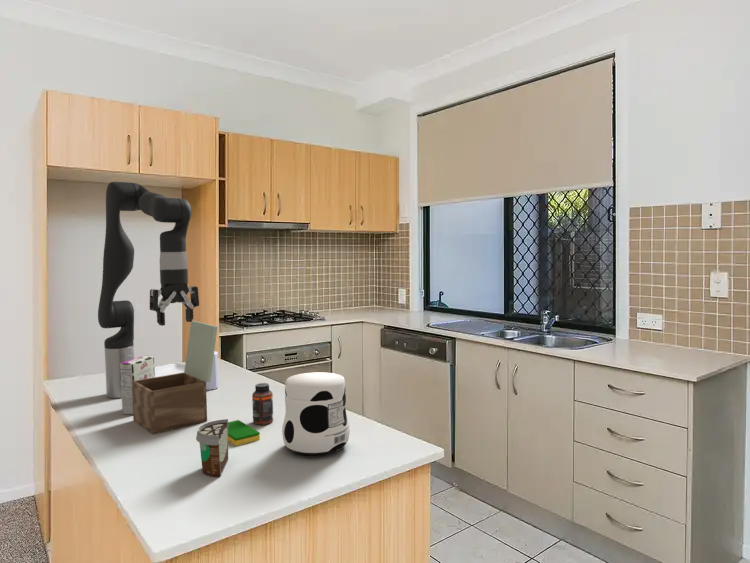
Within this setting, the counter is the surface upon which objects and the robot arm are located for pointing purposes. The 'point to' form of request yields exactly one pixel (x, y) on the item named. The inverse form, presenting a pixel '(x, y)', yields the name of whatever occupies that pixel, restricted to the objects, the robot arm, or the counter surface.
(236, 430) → the dish sponge
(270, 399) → the supplement bottle
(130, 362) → the candy bar box
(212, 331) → the lid
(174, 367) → the salad plate
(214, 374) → the soap bottle
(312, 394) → the milk container
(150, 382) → the walnut box
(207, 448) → the food container
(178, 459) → the counter surface
